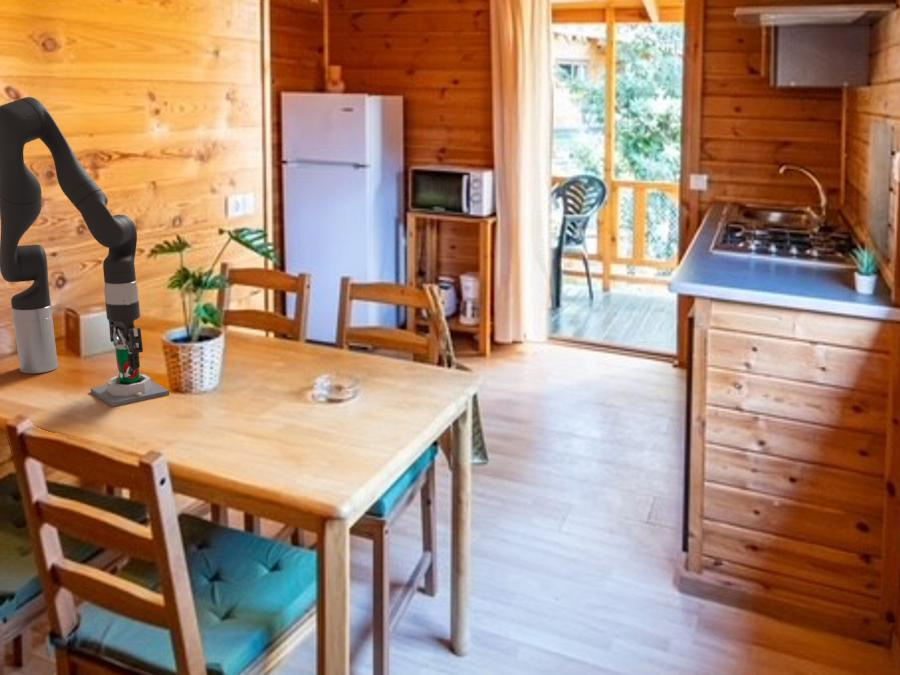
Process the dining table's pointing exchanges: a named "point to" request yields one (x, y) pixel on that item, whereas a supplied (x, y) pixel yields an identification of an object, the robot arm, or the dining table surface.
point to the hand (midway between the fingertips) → (128, 364)
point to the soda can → (125, 366)
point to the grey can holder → (129, 391)
